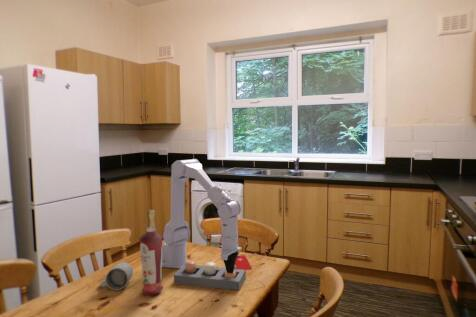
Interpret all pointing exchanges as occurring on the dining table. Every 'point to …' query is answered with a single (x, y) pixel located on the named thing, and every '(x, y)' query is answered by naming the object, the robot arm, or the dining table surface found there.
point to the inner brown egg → (190, 266)
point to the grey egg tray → (210, 278)
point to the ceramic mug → (118, 276)
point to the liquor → (151, 257)
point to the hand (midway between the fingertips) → (230, 272)
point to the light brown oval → (230, 274)
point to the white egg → (210, 268)
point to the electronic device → (242, 263)
